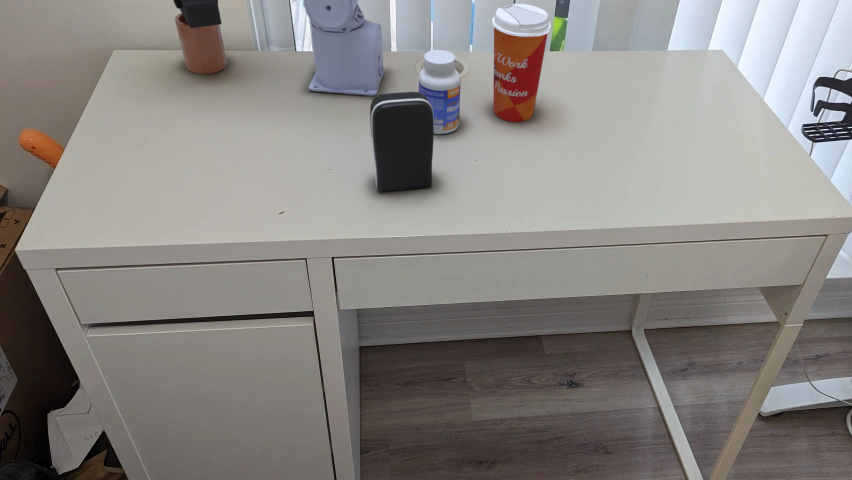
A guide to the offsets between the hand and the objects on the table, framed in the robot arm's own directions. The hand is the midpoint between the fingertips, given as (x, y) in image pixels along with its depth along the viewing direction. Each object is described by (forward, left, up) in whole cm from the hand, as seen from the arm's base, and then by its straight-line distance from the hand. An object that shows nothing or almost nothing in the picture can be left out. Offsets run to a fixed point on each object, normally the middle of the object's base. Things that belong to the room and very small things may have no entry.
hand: (196, 3), depth 97 cm
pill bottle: (-34, +10, -10) cm, 37 cm away
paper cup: (-44, +5, -10) cm, 45 cm away
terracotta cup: (+1, -2, -10) cm, 10 cm away
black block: (0, 0, -1) cm, 1 cm away
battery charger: (-31, +24, -10) cm, 40 cm away
